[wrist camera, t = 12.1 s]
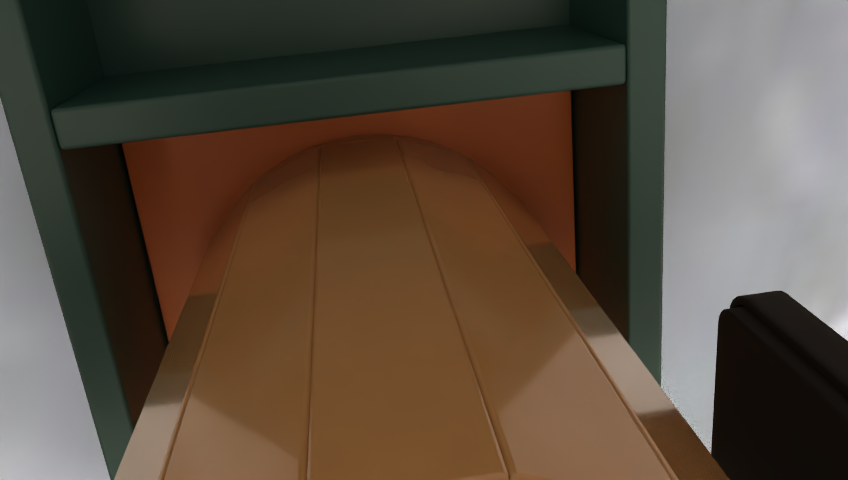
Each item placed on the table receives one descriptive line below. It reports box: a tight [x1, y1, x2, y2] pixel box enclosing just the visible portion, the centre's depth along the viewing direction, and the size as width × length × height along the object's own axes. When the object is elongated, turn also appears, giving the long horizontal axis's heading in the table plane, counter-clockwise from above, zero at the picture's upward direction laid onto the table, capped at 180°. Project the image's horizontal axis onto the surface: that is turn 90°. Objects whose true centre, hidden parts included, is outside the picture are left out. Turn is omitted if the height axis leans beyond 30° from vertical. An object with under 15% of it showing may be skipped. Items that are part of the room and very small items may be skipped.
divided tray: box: [0, 0, 667, 480], centre depth 13 cm, size 9×18×4 cm, turn 5°
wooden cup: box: [114, 134, 730, 480], centre depth 11 cm, size 7×7×10 cm
